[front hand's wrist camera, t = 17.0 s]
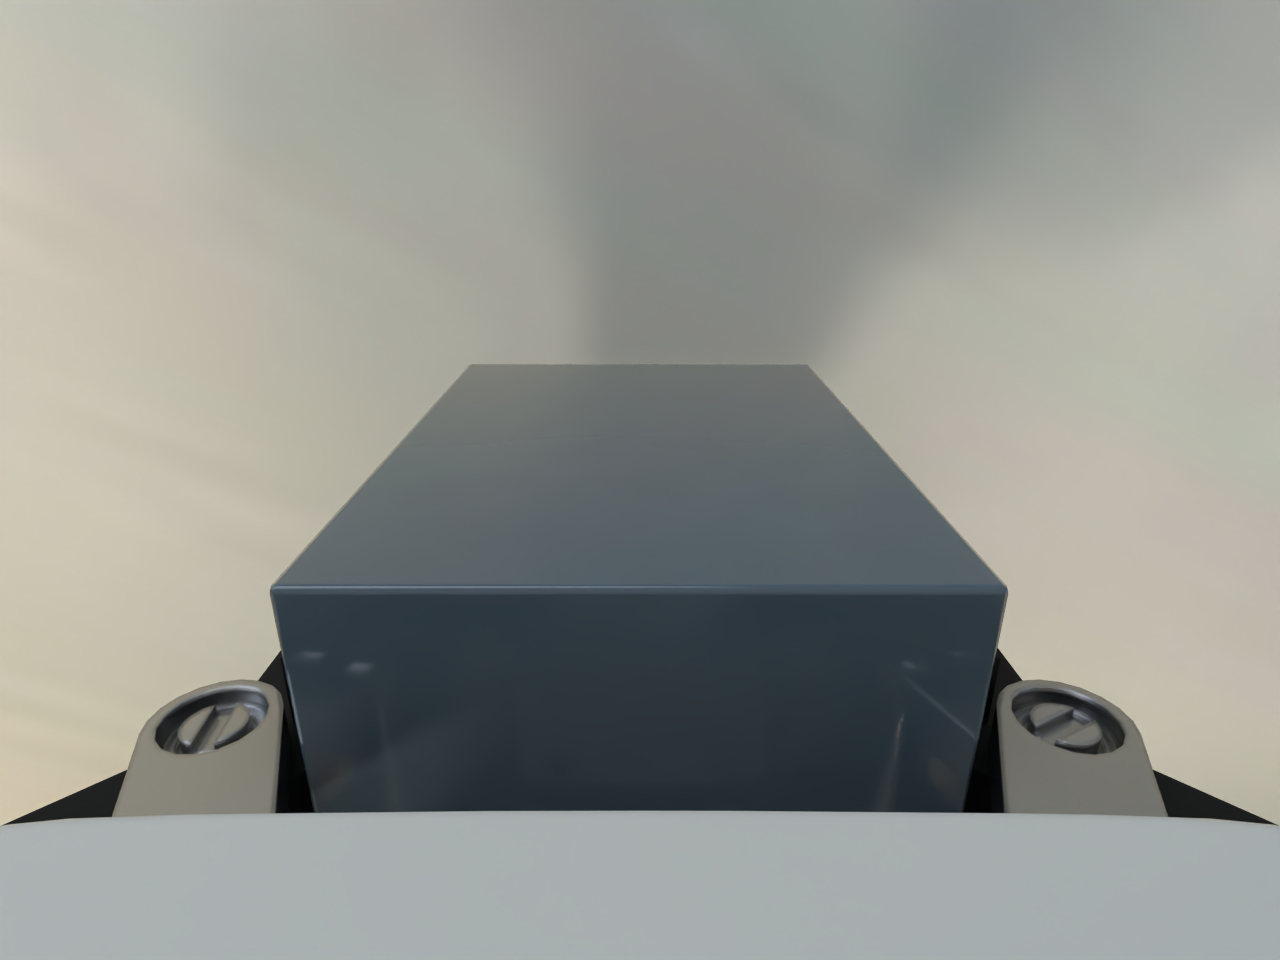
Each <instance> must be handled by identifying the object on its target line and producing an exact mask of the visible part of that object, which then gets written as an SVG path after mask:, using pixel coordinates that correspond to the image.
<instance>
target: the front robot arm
mask: <svg viewBox="0 0 1280 960" xmlns="http://www.w3.org/2000/svg"><path fill="white" fill-rule="evenodd" d="M0 960H1280V826H1278V825H1276V824H1274V823H1272V822H1269V821H1267V820H1265V819H1263V818H1260V817H1258V816H1256V815H1254V814H1251V813H1249V812H1247V811H1245V810H1242V809H1240V808H1238V807H1236V806H1233V805H1231V804H1229V803H1227V802H1224V801H1222V800H1220V799H1218V798H1215V797H1213V796H1211V795H1209V794H1206V793H1204V792H1202V791H1200V790H1197V789H1195V788H1193V787H1191V786H1188V785H1186V784H1184V783H1182V782H1179V781H1177V780H1175V779H1173V778H1170V777H1168V776H1166V775H1164V774H1161V773H1159V772H1157V771H1155V770H1153V769H1152V766H1151V763H1150V760H1149V757H1148V754H1147V751H1146V748H1145V745H1144V742H1143V739H1142V736H1141V734H1140V732H1139V730H1138V729H1137V727H1136V725H1135V724H1134V722H1133V721H1132V720H1131V719H1130V718H1129V717H1128V716H1127V715H1126V714H1125V713H1124V712H1123V711H1122V710H1121V709H1120V708H1118V707H1117V706H1115V705H1113V704H1112V703H1110V702H1109V701H1107V700H1105V699H1104V698H1102V697H1100V696H1098V695H1096V694H1094V693H1091V692H1089V691H1087V690H1084V689H1082V688H1079V687H1076V686H1072V685H1068V684H1065V683H1061V682H1055V681H1046V680H1026V681H1022V679H1021V678H1020V677H1019V675H1018V674H1017V673H1016V672H1015V670H1014V669H1013V668H1012V666H1011V665H1010V664H1009V662H1008V661H1007V660H1006V658H1005V657H1004V656H1003V654H1002V653H1001V652H1000V650H999V649H998V648H997V651H996V656H995V661H994V666H993V671H992V676H991V681H990V686H989V691H988V695H987V700H986V705H985V710H984V715H983V720H982V725H981V730H980V735H979V740H978V744H977V749H976V754H975V759H974V764H973V769H972V774H971V779H970V784H969V789H968V794H967V798H966V803H965V808H964V813H915V812H805V811H450V812H363V813H314V810H313V806H312V801H311V796H310V791H309V786H308V781H307V776H306V771H305V766H304V761H303V756H302V751H301V746H300V741H299V736H298V731H297V726H296V721H295V716H294V711H293V706H292V701H291V696H290V692H289V687H288V682H287V677H286V672H285V667H284V662H283V657H282V652H281V651H280V652H279V654H278V655H277V656H276V658H275V659H274V660H273V662H272V663H271V664H270V666H269V667H268V668H267V670H266V671H265V672H264V674H263V675H262V676H261V677H260V679H259V680H258V681H254V680H234V681H225V682H219V683H215V684H212V685H208V686H204V687H201V688H198V689H196V690H193V691H191V692H189V693H186V694H184V695H182V696H180V697H178V698H176V699H175V700H173V701H171V702H170V703H168V704H167V705H165V706H163V707H162V708H160V709H159V710H158V711H157V712H156V713H155V714H154V715H153V716H152V717H151V718H150V719H149V720H148V721H147V722H146V724H145V725H144V727H143V729H142V730H141V732H140V734H139V736H138V739H137V742H136V745H135V748H134V751H133V754H132V757H131V760H130V763H129V766H128V769H127V770H126V771H123V772H121V773H119V774H117V775H114V776H112V777H110V778H108V779H105V780H103V781H101V782H99V783H96V784H94V785H92V786H90V787H87V788H85V789H83V790H81V791H78V792H76V793H74V794H72V795H69V796H67V797H65V798H63V799H60V800H58V801H56V802H54V803H51V804H49V805H47V806H45V807H42V808H40V809H38V810H36V811H33V812H31V813H29V814H27V815H24V816H22V817H20V818H18V819H15V820H13V821H11V822H9V823H6V824H4V825H2V826H0Z"/></svg>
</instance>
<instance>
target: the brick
mask: <svg viewBox="0 0 1280 960" xmlns="http://www.w3.org/2000/svg"><path fill="white" fill-rule="evenodd" d="M270 597H271V602H272V607H273V612H274V617H275V622H276V627H277V632H278V637H279V642H280V647H281V652H282V657H283V662H284V667H285V672H286V677H287V682H288V687H289V692H290V696H291V701H292V706H293V711H294V716H295V721H296V726H297V731H298V736H299V741H300V746H301V751H302V756H303V761H304V766H305V771H306V776H307V781H308V786H309V791H310V796H311V801H312V806H313V810H314V813H363V812H450V811H805V812H915V813H964V808H965V803H966V798H967V794H968V789H969V784H970V779H971V774H972V769H973V764H974V759H975V754H976V749H977V744H978V740H979V735H980V730H981V725H982V720H983V715H984V710H985V705H986V700H987V695H988V691H989V686H990V681H991V676H992V671H993V666H994V661H995V656H996V651H997V646H998V641H999V637H1000V632H1001V627H1002V622H1003V617H1004V612H1005V607H1006V602H1007V597H1008V589H1007V586H1006V585H1005V584H1004V582H1003V581H1002V580H1001V579H1000V578H999V577H998V576H997V575H996V574H995V572H994V571H993V570H992V569H991V568H990V567H989V566H988V565H987V563H986V562H985V561H984V560H983V559H982V558H981V557H980V556H979V555H978V553H977V552H976V551H975V550H974V549H973V548H972V547H971V546H970V545H969V543H968V542H967V541H966V540H965V539H964V538H963V537H962V536H961V535H960V533H959V532H958V531H957V530H956V529H955V528H954V527H953V526H952V525H951V523H950V522H949V521H948V520H947V519H946V518H945V517H944V516H943V515H942V513H941V512H940V511H939V510H938V509H937V508H936V507H935V506H934V505H933V503H932V502H931V501H930V500H929V499H928V498H927V497H926V496H925V494H924V493H923V492H922V491H921V490H920V489H919V488H918V487H917V486H916V484H915V483H914V482H913V481H912V480H911V479H910V478H909V477H908V476H907V474H906V473H905V472H904V471H903V470H902V469H901V468H900V467H899V466H898V464H897V463H896V462H895V461H894V460H893V459H892V458H891V457H890V456H889V454H888V453H887V452H886V451H885V450H884V449H883V448H882V447H881V446H880V444H879V443H878V442H877V441H876V440H875V439H874V438H873V437H872V436H871V434H870V433H869V432H868V431H867V430H866V429H865V428H864V427H863V425H862V424H861V423H860V422H859V421H858V420H857V419H856V418H855V417H854V415H853V414H852V413H851V412H850V411H849V410H848V409H847V408H846V407H845V405H844V404H843V403H842V402H841V401H840V400H839V399H838V398H837V397H836V395H835V394H834V393H833V392H832V391H831V390H830V389H829V388H828V387H827V385H826V384H825V383H824V382H823V381H822V380H821V379H820V378H819V377H818V375H817V374H816V373H815V372H814V371H813V370H812V369H811V368H810V367H809V366H808V365H515V364H472V365H469V366H468V367H467V369H466V370H465V371H464V372H463V373H462V374H461V375H460V376H459V377H458V379H457V380H456V381H455V382H454V383H453V384H452V385H451V386H450V387H449V389H448V390H447V391H446V392H445V393H444V394H443V395H442V396H441V397H440V399H439V400H438V401H437V402H436V403H435V404H434V405H433V406H432V407H431V409H430V410H429V411H428V412H427V413H426V414H425V415H424V416H423V417H422V419H421V420H420V421H419V422H418V423H417V424H416V425H415V426H414V427H413V429H412V430H411V431H410V432H409V433H408V434H407V435H406V436H405V437H404V439H403V440H402V441H401V442H400V443H399V444H398V445H397V446H396V447H395V449H394V450H393V451H392V452H391V453H390V454H389V455H388V456H387V457H386V459H385V460H384V461H383V462H382V463H381V464H380V465H379V466H378V467H377V469H376V470H375V471H374V472H373V473H372V474H371V475H370V476H369V477H368V479H367V480H366V481H365V482H364V483H363V484H362V485H361V486H360V487H359V489H358V490H357V491H356V492H355V493H354V494H353V495H352V496H351V497H350V499H349V500H348V501H347V502H346V503H345V504H344V505H343V506H342V507H341V509H340V510H339V511H338V512H337V513H336V514H335V515H334V516H333V517H332V519H331V520H330V521H329V522H328V523H327V524H326V525H325V526H324V527H323V529H322V530H321V531H320V532H319V533H318V534H317V535H316V536H315V537H314V539H313V540H312V541H311V542H310V543H309V544H308V545H307V546H306V547H305V549H304V550H303V551H302V552H301V553H300V554H299V555H298V556H297V557H296V559H295V560H294V561H293V562H292V563H291V564H290V565H289V566H288V567H287V569H286V570H285V571H284V572H283V573H282V574H281V575H280V576H279V577H278V579H277V580H276V581H275V582H274V583H273V584H272V585H271V589H270Z"/></svg>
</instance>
